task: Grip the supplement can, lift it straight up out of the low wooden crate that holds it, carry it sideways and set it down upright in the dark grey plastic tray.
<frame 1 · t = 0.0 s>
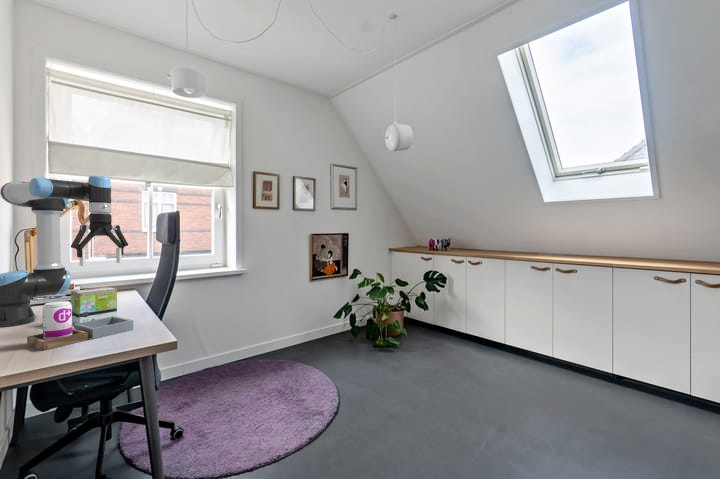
hand: (101, 264, 146), 28 cm above the table, tool pointing down, fingers open, 13 cm apart
wooden crate: (58, 342, 131), on the table
supplement can: (58, 342, 131), resting in wooden crate
tea box: (94, 321, 163), on the table
tray: (104, 331, 145), on the table
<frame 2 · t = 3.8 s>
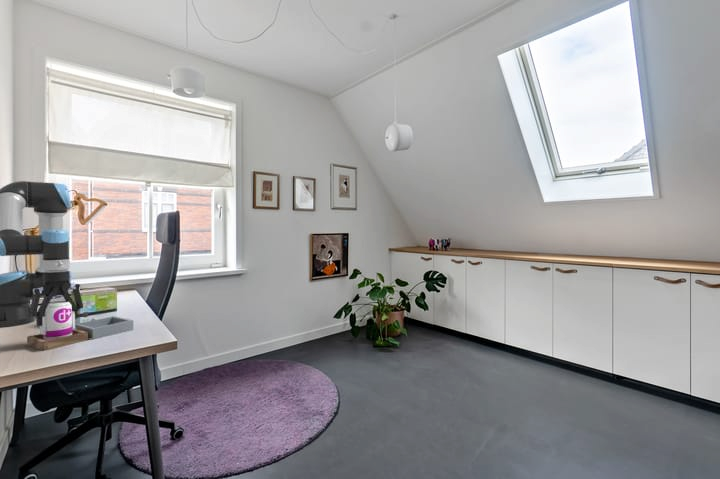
hand: (57, 331, 131), 4 cm above the table, tool pointing down, fingers closed on supplement can, 8 cm apart
supplement can: (58, 342, 131), resting in wooden crate, touching gripper
everything else where it was.
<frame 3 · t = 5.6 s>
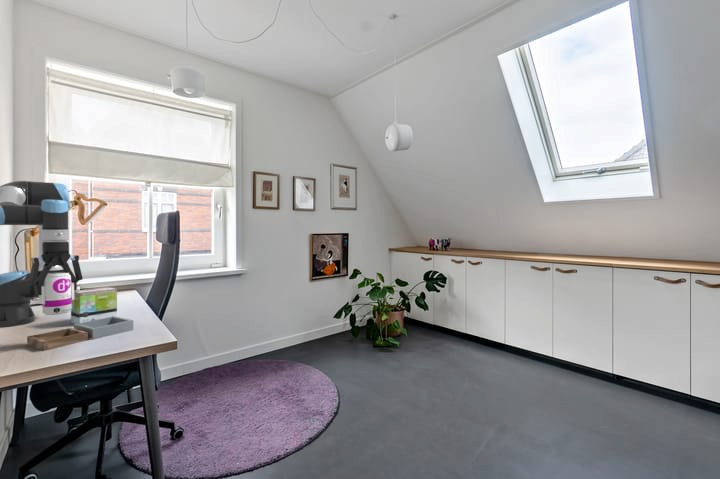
hand: (57, 301, 131), 15 cm above the table, tool pointing down, fingers closed on supplement can, 8 cm apart
supplement can: (57, 313, 131), point 11 cm above the table, touching gripper
everything else where it was.
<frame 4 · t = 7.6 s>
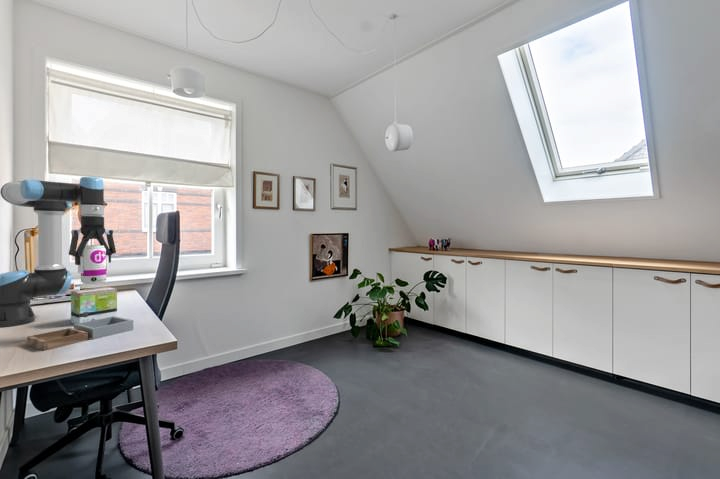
hand: (93, 271, 141), 25 cm above the table, tool pointing down, fingers closed on supplement can, 8 cm apart
supplement can: (94, 283, 141), point 21 cm above the table, touching gripper
everything else where it was.
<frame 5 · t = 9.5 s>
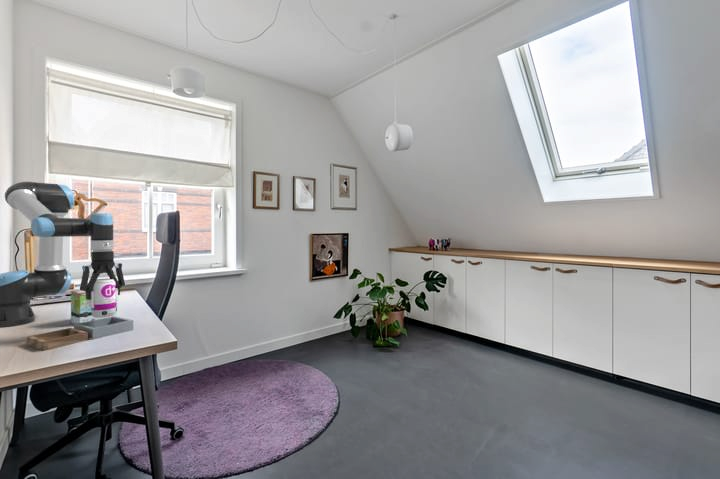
hand: (103, 305, 145), 11 cm above the table, tool pointing down, fingers closed on supplement can, 8 cm apart
supplement can: (104, 316, 145), point 7 cm above the table, touching gripper
everything else where it was.
when the fingers open (7 cm above the table, at t = 11.3 s): supplement can drops 1 cm, resting on tray.
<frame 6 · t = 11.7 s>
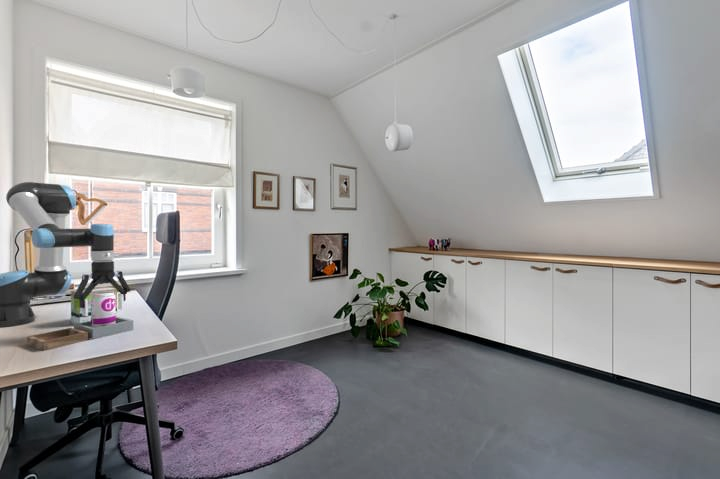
hand: (103, 312, 145), 8 cm above the table, tool pointing down, fingers open, 13 cm apart
supplement can: (103, 329, 145), point 1 cm above the table, touching tray
everything else where it was.
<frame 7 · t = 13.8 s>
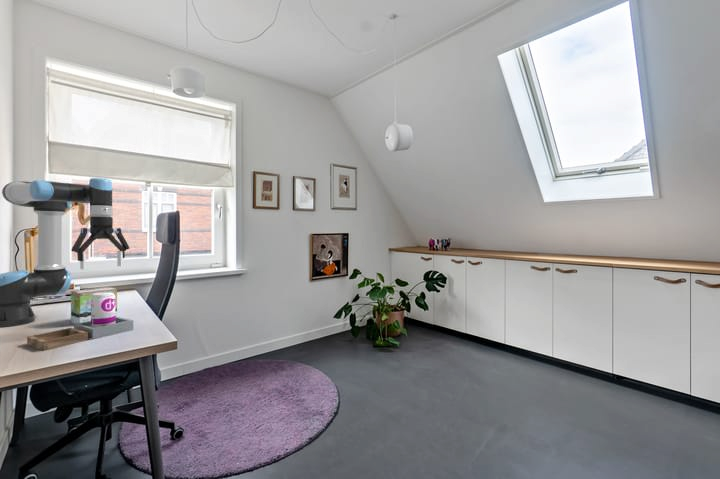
hand: (102, 267, 144), 27 cm above the table, tool pointing down, fingers open, 13 cm apart
nothing on the table moved.
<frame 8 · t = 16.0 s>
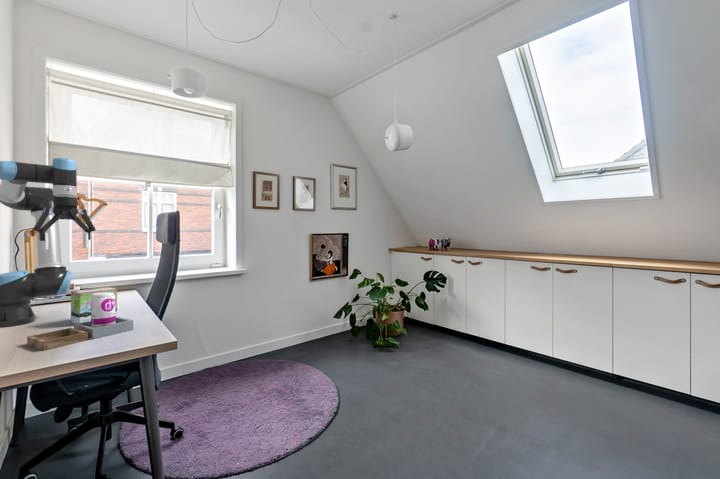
hand: (66, 248, 143), 35 cm above the table, tool pointing down, fingers open, 13 cm apart
nothing on the table moved.
at the end: supplement can inside the target area on the tray (0.1 cm from its centre), point 0.8 cm above the tray's base; supplement can tilted 0°; the gripper is holding nothing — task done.
